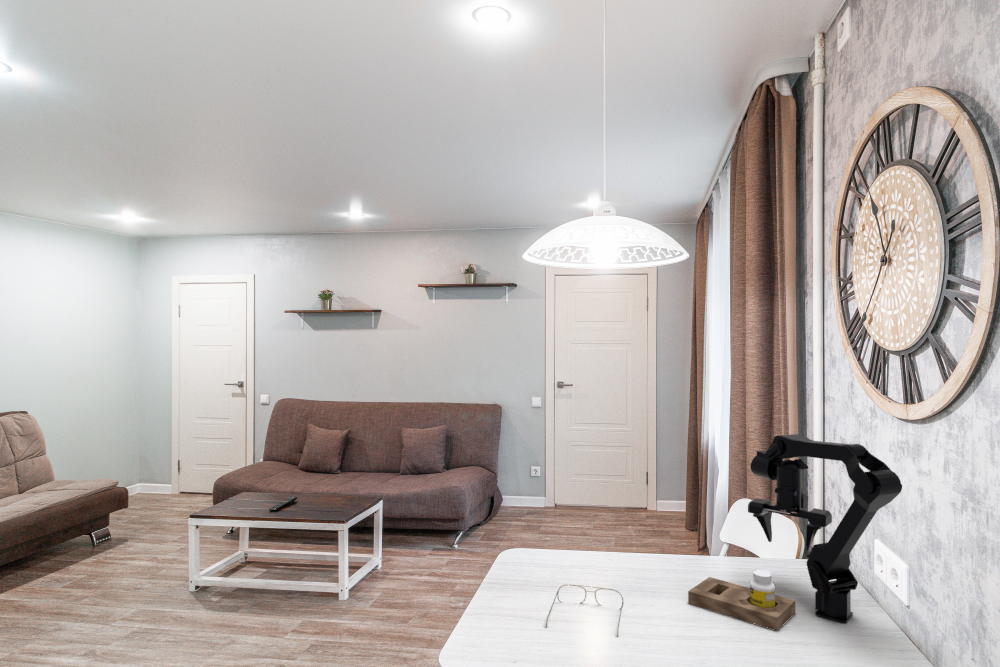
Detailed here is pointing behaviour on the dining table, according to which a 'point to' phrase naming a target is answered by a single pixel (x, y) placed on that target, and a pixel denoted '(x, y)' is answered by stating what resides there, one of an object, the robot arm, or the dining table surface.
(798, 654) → the dining table surface
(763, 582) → the supplement bottle
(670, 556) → the dining table surface
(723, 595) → the socket board
